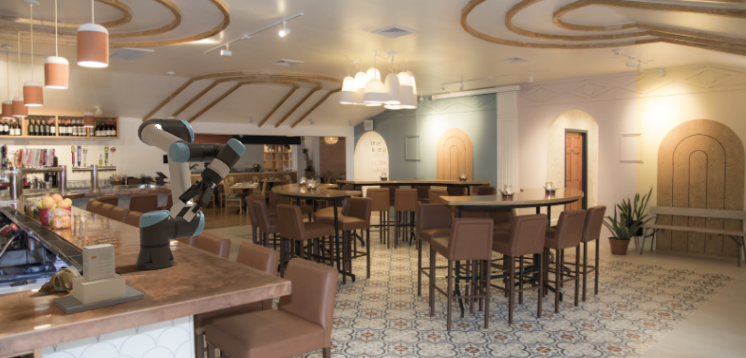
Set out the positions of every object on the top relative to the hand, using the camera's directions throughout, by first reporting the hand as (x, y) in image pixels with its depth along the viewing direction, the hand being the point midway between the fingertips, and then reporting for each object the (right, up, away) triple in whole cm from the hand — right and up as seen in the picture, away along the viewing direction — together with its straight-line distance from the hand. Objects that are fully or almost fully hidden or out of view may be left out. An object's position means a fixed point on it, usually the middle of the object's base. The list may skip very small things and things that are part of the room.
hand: (178, 217), depth 172 cm
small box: (-18, -18, -18) cm, 31 cm away
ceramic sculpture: (-38, -25, -5) cm, 46 cm away
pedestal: (-18, -26, -18) cm, 36 cm away
